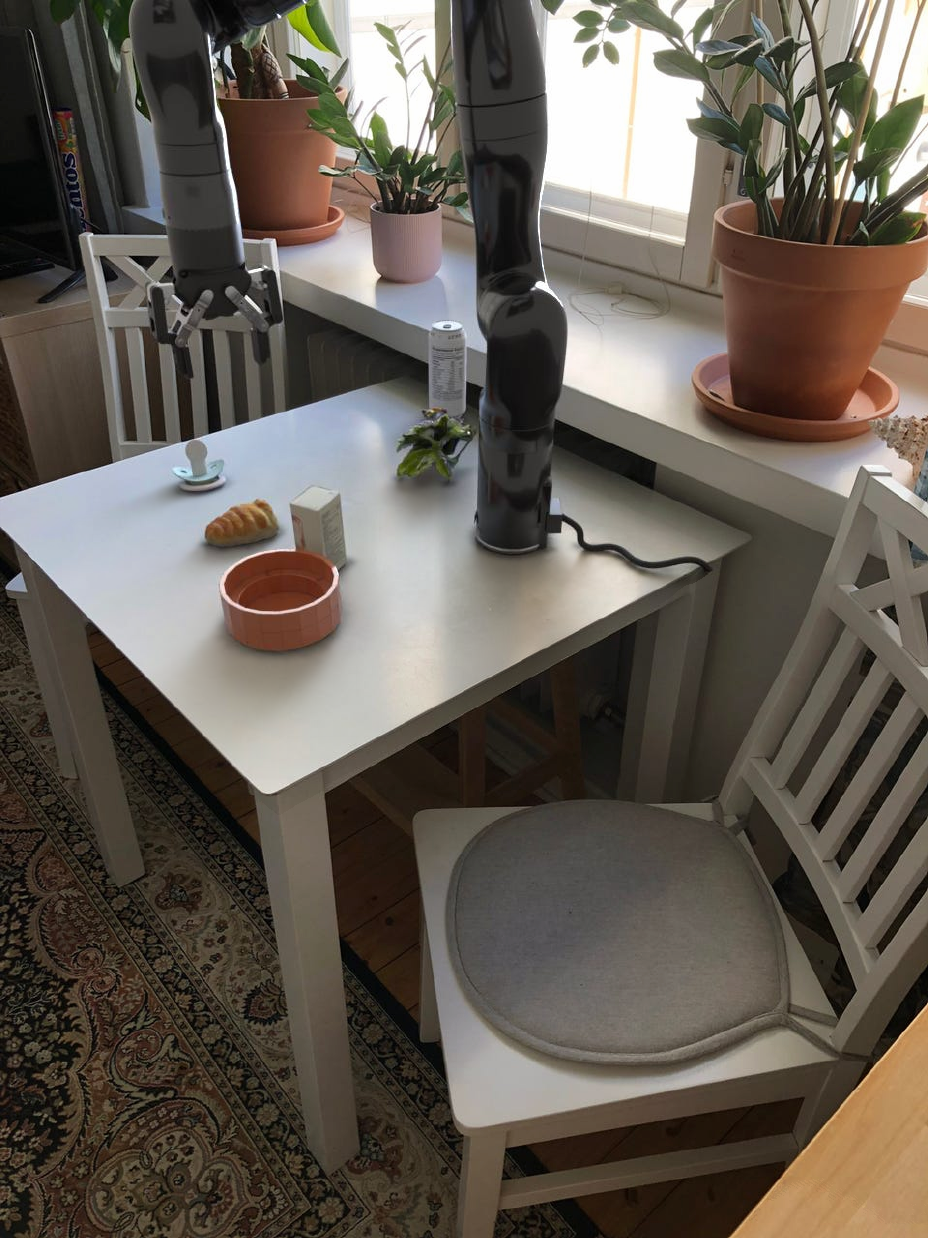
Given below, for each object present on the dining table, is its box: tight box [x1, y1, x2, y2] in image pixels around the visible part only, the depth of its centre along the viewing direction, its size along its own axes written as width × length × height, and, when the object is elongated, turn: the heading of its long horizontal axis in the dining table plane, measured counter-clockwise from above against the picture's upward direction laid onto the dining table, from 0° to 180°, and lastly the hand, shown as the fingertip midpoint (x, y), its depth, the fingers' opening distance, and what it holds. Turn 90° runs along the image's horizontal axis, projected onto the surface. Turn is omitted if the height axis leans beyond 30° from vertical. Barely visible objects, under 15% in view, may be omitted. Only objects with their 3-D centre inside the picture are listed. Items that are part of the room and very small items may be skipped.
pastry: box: [204, 498, 281, 548], centre depth 121 cm, size 9×7×4 cm
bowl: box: [218, 548, 343, 651], centre depth 106 cm, size 13×13×6 cm
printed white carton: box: [289, 484, 348, 572], centre depth 113 cm, size 5×4×10 cm
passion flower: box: [395, 407, 478, 485], centre depth 135 cm, size 11×11×12 cm
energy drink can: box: [428, 319, 468, 419], centre depth 150 cm, size 6×6×15 cm
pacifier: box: [172, 438, 227, 492], centre depth 132 cm, size 7×6×6 cm
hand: (225, 369), depth 105 cm, fingers open, 8 cm apart
